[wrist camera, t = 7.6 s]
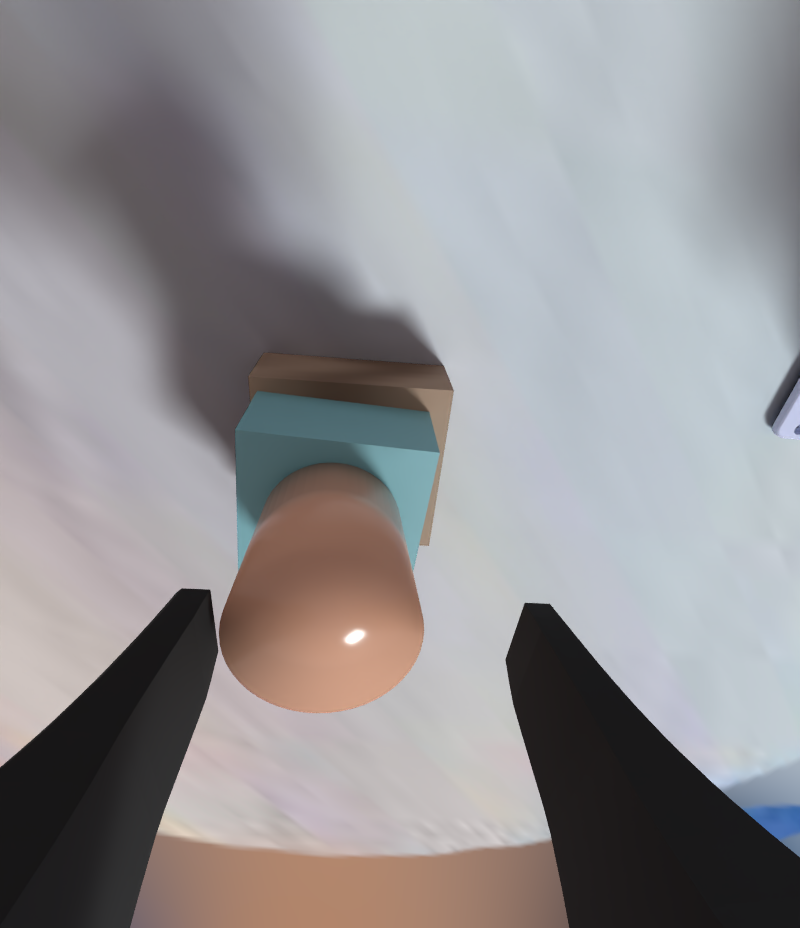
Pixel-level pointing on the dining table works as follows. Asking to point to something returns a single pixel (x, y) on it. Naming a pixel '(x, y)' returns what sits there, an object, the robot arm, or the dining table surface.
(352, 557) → the terracotta cylinder
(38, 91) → the dining table surface
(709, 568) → the dining table surface
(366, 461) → the teal top slab
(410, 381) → the walnut base slab
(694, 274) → the dining table surface
